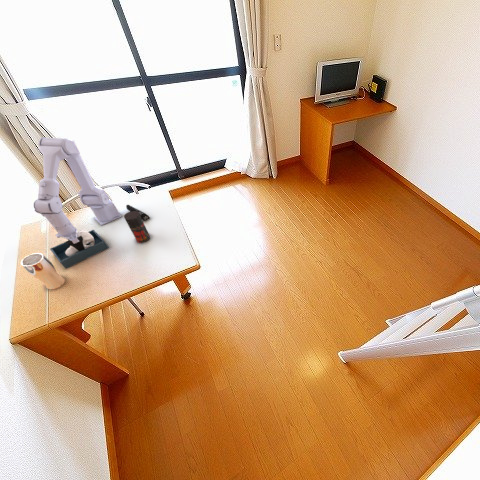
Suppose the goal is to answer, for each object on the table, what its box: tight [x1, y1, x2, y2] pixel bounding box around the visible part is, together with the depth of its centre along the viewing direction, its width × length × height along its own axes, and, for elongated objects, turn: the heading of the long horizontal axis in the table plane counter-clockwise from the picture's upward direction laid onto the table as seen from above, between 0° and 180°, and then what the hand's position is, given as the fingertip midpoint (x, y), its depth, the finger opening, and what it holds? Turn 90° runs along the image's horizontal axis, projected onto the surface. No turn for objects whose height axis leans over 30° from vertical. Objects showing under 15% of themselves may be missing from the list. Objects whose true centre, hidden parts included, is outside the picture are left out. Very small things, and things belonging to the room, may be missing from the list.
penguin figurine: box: [65, 229, 95, 257], centre depth 123 cm, size 6×8×12 cm
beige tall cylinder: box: [20, 252, 66, 290], centre depth 108 cm, size 7×7×15 cm
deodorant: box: [123, 211, 151, 244], centre depth 129 cm, size 6×6×15 cm
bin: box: [49, 229, 109, 270], centre depth 124 cm, size 17×11×4 cm, turn 141°
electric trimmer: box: [125, 204, 151, 222], centre depth 146 cm, size 4×16×3 cm, turn 58°
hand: (78, 246), depth 123 cm, fingers closed on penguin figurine, 6 cm apart
